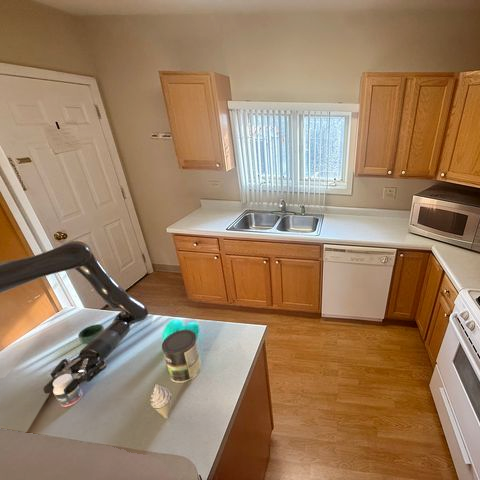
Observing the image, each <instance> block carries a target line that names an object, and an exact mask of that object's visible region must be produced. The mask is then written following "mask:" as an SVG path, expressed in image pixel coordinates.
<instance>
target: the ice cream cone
mask: <svg viewBox="0 0 480 480" xmlns="http://www.w3.org/2000/svg"><path fill="white" fill-rule="evenodd" d="M150 397H151V398H150V399H149V401H150V402H149V403H150V405H151V408H152V409H154V410H155V411H157V412H158V414H160V415H161V416H162V417H163V418H165V419H168V418H169V414H170V406H171V400H172V397H173V396H172V393H171V392H170V390H169V389H168V388H166V387H163V386H161V385H158V384H157V383H156V384H155V385H154V388H153V392H152V394H151V395H150Z"/></svg>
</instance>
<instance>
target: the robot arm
mask: <svg viewBox="0 0 480 480" xmlns="http://www.w3.org/2000/svg"><path fill="white" fill-rule="evenodd" d="M69 270H70V271H71V270H75V271H77V272H78V273H79V274H80V275H81V276H83V278H85V280H86V281H87V282H88V284H89V285H90V287H92V289H93V290H94V291H95V292H96V293H97V295H98V297H100V298H101V299H102V301H104V303H106V304H107V305H108V306H109V307H110V308H111V309H113V310H121V311H120V312H119V313H118V314H117V315H116V316H115V317H114V319H113V320H112V322H111V323H110V324H109V325H108V326H107V327H106V328H104V331H103V332H101V333H100V334H99V335H97V336H96V337H95V338H94V339H93V340H92V341H91V342H90V343H89V344H85V346H83V348H82V349H81V350H80V351H79V354H78V355H77V356H76V357H74V358H72V359H70V360H67V358H64V359H61V361H60V362H59V363H58V364H57V366H56V367H54V369H53V370H52V371H51V372H50V377H51V378H52V379H51V380H50V381H48V383H46V384H45V385H44V386H43V392H44V393H45V394H50V393H51V392H53V389H54V386H53V382H54V380H55V379H56V378H58V377H59V376H61V375H64V374H70V375H71V377H72V376H73V375H75V374H77V375H76V378H75V379H74V380H73V381H72V382H71V383H70V384H69V385H68V386H67V387H66V388H65V389H64V393H65V394H70V393H71V392H72V391H74V390H75V389H76V387H77V386H78V385H79V386H80V385H81V384H82V383H84V382H87V383H88V382H91V381H93V380H94V379H95V378H96V377H97V376H98V375H99V374H101V372H102V371H104V370H105V369H106V368H107V364H106V362H105V360H106V359H107V358H108V357H109V356H110V355H111V353H112V352H113V351H114V350H115V349H116V348H117V347H118V346H119V344H120V343H121V342H122V341H123V339H124V338H125V337H127V335H128V334H129V333H130V331H131V326H132V325H135V324H138V323H140V322H143V321H145V320H146V319H147V318H148V316H149V309H148V307H147V306H146V305H145V304H144V303H142V302H141V301H139V300H138V299H137V298H135V297H134V296H131V295H130V294H129V293H128V292H127V291H126V290H125V288H123V287H122V286H121V285H120V284H119V282H117V281H116V280H115V279H114V278H113V277H112V276H111V275H110V274H109V273H108V272H107V271H106V270H105V268H103V266H102V265H101V263H99V261H98V259H97V258H96V256H95V255H94V253H93V252H92V249H91V247H90V246H89V245H88V244H87V243H85V242H83V241H79V240H69V241H66V242H64V243H62V244H61V245H60V246H58V247H55V248H53V249H50V250H47V251H44V252H41V253H39V254H36V255H33V256H30V257H25V258H24V257H23V258H19V259H18V258H17V259H13V260H5V261H2V262H0V294H2V293H5V292H7V291H10V290H12V289H15V288H18V287H21V286H23V285H26V284H28V283H30V282H33V281H36V280H39V279H41V278H44V277H47V276H50V275H54V274H58V273H62V272H65V271H69Z"/></svg>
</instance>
